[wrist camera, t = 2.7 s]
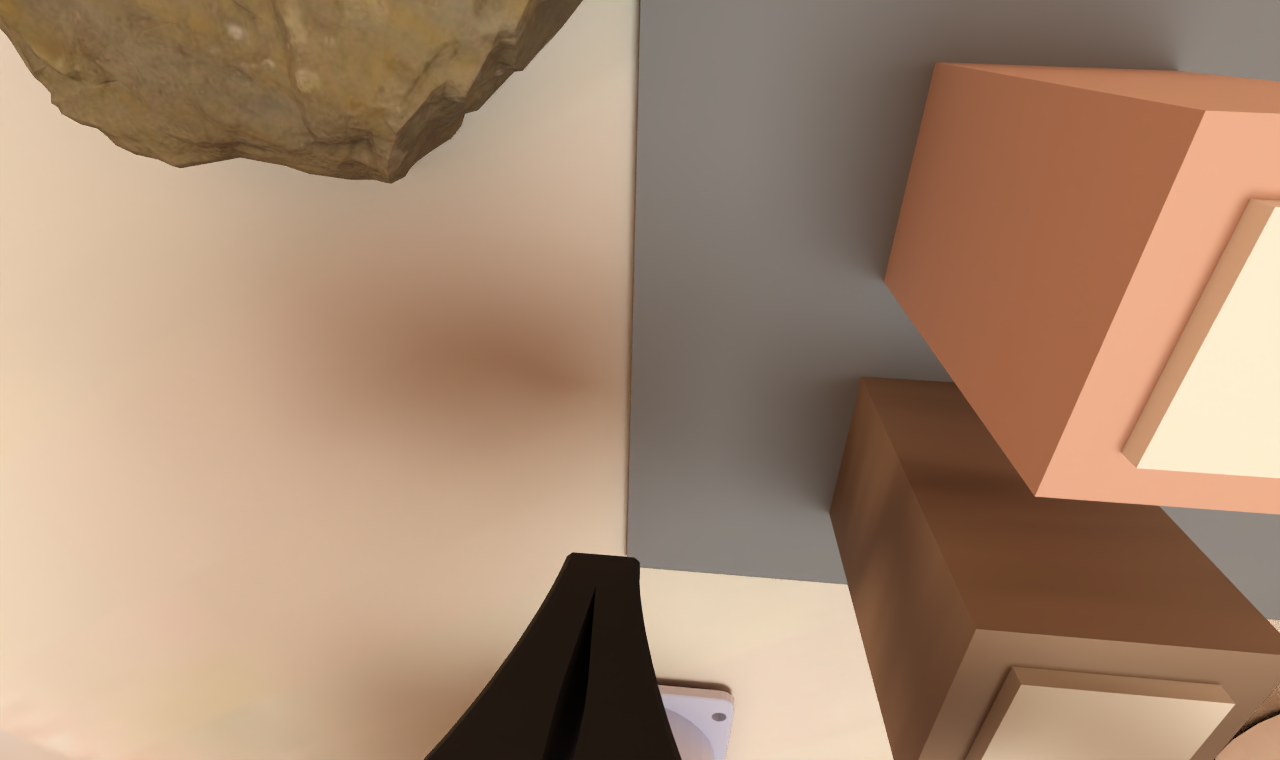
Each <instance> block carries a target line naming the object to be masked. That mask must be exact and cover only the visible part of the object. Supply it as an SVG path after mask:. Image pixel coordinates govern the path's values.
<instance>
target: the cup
mask: <svg viewBox="0 0 1280 760" xmlns="http://www.w3.org/2000/svg"><path fill="white" fill-rule="evenodd" d="M1215 760H1280V715H1277V716H1275V717H1273V718H1270V719H1268V720H1265V721H1263V722H1261V723H1258V724H1257V725H1255V726H1254V727H1252V728H1251V729H1249V730H1247V731H1246V732H1244V733H1243V734H1241V735H1239V736H1238V737H1236V738H1235V739H1233V740H1232V741H1231V742H1230V743H1229V744H1228V745H1227V746H1226V747H1225V748H1224V749H1223V750H1222V751H1221V752H1220V753H1219V754H1218V755H1217V757H1216V759H1215Z"/></svg>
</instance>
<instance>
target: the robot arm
mask: <svg viewBox="0 0 1280 760" xmlns="http://www.w3.org/2000/svg"><path fill="white" fill-rule="evenodd" d="M639 579H640V562H639V561H638V560H637V559H636V558H634V557H622V556H610V555H598V554H585V553H571V554H570V555H568V556H567V558H566V560H565V562H564V564H563V566H562V569H561V570H560V572H559V574H558V576H557V578H556V580H555V582H554V584H553V586H552V588H551V589H550V591H549V593H548V595H547V596H546V598H545V600H544V601H543V603H542V605H541V607H540V608H539V610H538V612H537V613H536V615H535V616H534V618H533V619H532V621H531V622H530V624H529V626H528V627H527V629H526V630H525V632H524V633H523V635H522V636H521V638H520V639H519V641H518V643H517V644H516V645H515V647H514V648H513V650H512V651H511V653H510V654H509V655H508V657H507V658H506V659H505V661H504V662H503V664H502V665H501V666H500V668H499V669H498V670H497V672H496V673H495V675H494V676H493V677H492V679H491V680H490V681H489V683H488V684H487V685H486V687H485V688H484V689H483V691H482V692H481V693H480V694H479V696H478V697H477V698H476V700H475V701H474V702H473V703H472V705H471V706H470V707H469V708H468V709H467V711H466V712H465V713H464V714H463V715H462V717H461V718H460V719H459V720H458V721H457V723H456V724H455V725H454V726H453V727H452V729H451V730H450V731H449V732H448V733H447V734H446V735H445V737H444V738H443V739H442V740H441V741H440V742H439V743H438V744H437V745H436V746H435V748H434V749H433V750H432V751H431V752H430V753H429V754H428V755H427V756H426V757H425V759H424V760H726V754H727V749H728V743H729V737H730V731H731V725H732V719H733V713H734V698H733V697H732V695H731V694H729V693H727V692H725V691H719V690H708V689H697V688H686V687H676V686H665V685H658V683H657V680H656V676H655V672H654V668H653V664H652V659H651V655H650V650H649V646H648V641H647V636H646V632H645V626H644V620H643V613H642V606H641V598H640V585H639Z"/></svg>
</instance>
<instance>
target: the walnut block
mask: <svg viewBox="0 0 1280 760" xmlns="http://www.w3.org/2000/svg"><path fill="white" fill-rule="evenodd" d="M829 515H830V519H831V522H832V526H833V530H834V534H835V538H836V541H837V545H838V549H839V553H840V557H841V560H842V564H843V568H844V572H845V576H846V579H847V583H848V587H849V591H850V595H851V599H852V602H853V606H854V610H855V614H856V618H857V621H858V625H859V629H860V633H861V637H862V640H863V644H864V648H865V652H866V656H867V659H868V663H869V667H870V671H871V675H872V678H873V682H874V686H875V690H876V694H877V697H878V701H879V705H880V709H881V713H882V717H883V720H884V724H885V728H886V732H887V736H888V739H889V743H890V747H891V751H892V755H893V758H894V760H1214V759H1215V758H1216V756H1217V755H1218V754H1219V753H1220V752H1221V751H1222V749H1223V748H1224V747H1225V746H1226V745H1227V744H1228V742H1229V741H1230V740H1231V739H1232V738H1233V737H1234V735H1235V734H1236V733H1237V732H1238V731H1239V730H1240V728H1241V727H1242V726H1243V725H1244V724H1245V723H1246V721H1247V720H1248V719H1249V718H1250V717H1251V716H1252V715H1253V713H1254V712H1255V711H1256V710H1257V709H1258V708H1259V706H1260V705H1261V704H1262V703H1263V702H1264V701H1265V699H1266V698H1267V697H1268V696H1269V695H1270V694H1271V692H1272V691H1273V690H1274V689H1275V688H1276V687H1277V685H1278V684H1279V683H1280V633H1279V632H1278V631H1277V630H1276V629H1275V628H1274V627H1273V626H1272V625H1271V624H1270V622H1269V621H1268V620H1267V619H1266V618H1265V617H1264V616H1263V615H1262V614H1261V613H1260V612H1259V611H1258V610H1257V609H1256V608H1255V607H1254V606H1253V605H1252V603H1251V602H1250V601H1249V600H1248V599H1247V598H1246V597H1245V596H1244V595H1243V594H1242V593H1241V592H1240V591H1239V590H1238V589H1237V588H1236V587H1235V585H1234V584H1233V583H1232V582H1231V581H1230V580H1229V579H1228V578H1227V577H1226V576H1225V575H1224V574H1223V573H1222V572H1221V571H1220V570H1219V569H1218V568H1217V566H1216V565H1215V564H1214V563H1213V562H1212V561H1211V560H1210V559H1209V558H1208V557H1207V556H1206V555H1205V554H1204V553H1203V552H1202V551H1201V550H1200V548H1199V547H1198V546H1197V545H1196V544H1195V543H1194V542H1193V541H1192V540H1191V539H1190V538H1189V537H1188V536H1187V535H1186V534H1185V533H1184V532H1183V530H1182V529H1181V528H1180V527H1179V526H1178V525H1177V524H1176V523H1175V522H1174V521H1173V520H1172V519H1171V518H1170V517H1169V516H1168V515H1167V514H1166V513H1165V511H1164V510H1163V509H1162V508H1161V507H1160V506H1157V505H1143V504H1129V503H1116V502H1102V501H1088V500H1075V499H1061V498H1048V497H1035V496H1034V495H1033V493H1032V492H1031V490H1030V489H1029V488H1028V486H1027V485H1026V483H1025V482H1024V480H1023V479H1022V478H1021V476H1020V475H1019V473H1018V472H1017V470H1016V469H1015V468H1014V466H1013V465H1012V463H1011V462H1010V461H1009V459H1008V458H1007V456H1006V455H1005V453H1004V452H1003V451H1002V449H1001V448H1000V446H999V445H998V443H997V442H996V441H995V439H994V438H993V436H992V435H991V434H990V432H989V431H988V429H987V428H986V426H985V425H984V424H983V422H982V421H981V419H980V418H979V416H978V415H977V414H976V412H975V411H974V409H973V408H972V407H971V405H970V404H969V402H968V401H967V399H966V398H965V397H964V395H963V394H962V392H961V391H960V389H959V388H958V387H957V385H956V384H955V382H940V381H925V380H909V379H893V378H878V377H862V376H861V381H860V385H859V389H858V393H857V398H856V402H855V406H854V410H853V415H852V419H851V423H850V427H849V432H848V436H847V440H846V444H845V449H844V453H843V457H842V461H841V466H840V470H839V474H838V478H837V483H836V487H835V491H834V495H833V500H832V504H831V508H830V512H829Z"/></svg>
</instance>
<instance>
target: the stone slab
mask: <svg viewBox="0 0 1280 760" xmlns="http://www.w3.org/2000/svg"><path fill="white" fill-rule="evenodd" d="M581 2H582V0H0V29H1V30H2V31H3V32H4V33H5V34H6V35H7V36H8V37H9V39H10V40H11V42H12V44H13V45H14V47H15V48H16V50H17V52H18V53H19V55H20V56H21V58H22V60H23V61H24V63H25V64H26V66H27V68H28V69H29V70H30V72H31V73H32V74H33V76H34V77H35V78H36V79H37V80H38V81H40V82H41V83H42V84H43V85H44V86H45V87H46V88H47V89H48V91H49V92H50V93H51V103H52V104H54V105H55V106H57V107H58V108H59V110H60V112H61V113H62V114H63V115H65V116H67V117H69V118H71V119H72V120H74V121H76V122H78V123H80V124H82V125H86V126H90V127H94V128H98V129H99V130H100V131H101V132H103V133H104V134H105V135H106V136H108V137H109V139H110V140H111V141H112V142H113V143H114V144H115V145H117V146H119V147H121V148H123V149H125V150H127V151H130V152H132V153H134V154H136V155H141V156H145V157H150V158H154V159H159V160H161V161H163V162H165V163H167V164H169V165H172V166H175V167H179V168H184V167H189V166H195V165H201V164H206V163H212V162H217V161H223V160H229V159H234V158H240V157H241V158H247V159H252V160H257V161H262V162H268V163H274V164H279V165H285V166H288V167H291V168H294V169H297V170H300V171H303V172H306V173H309V174H315V175H322V176H330V177H337V178H344V179H351V180H377V181H381V182H386V183H390V184H391V183H393V182H395V181H397V180H399V179H401V178H403V177H405V176H406V174H407V173H408V171H409V169H410V168H411V167H412V166H413V165H414V164H415V163H416V162H417V161H418V160H419V159H421V158H422V157H423V156H425V155H426V154H428V153H429V152H430V151H432V150H433V149H435V148H436V147H438V146H440V145H441V144H443V143H444V142H446V141H447V140H449V139H451V138H452V137H453V135H454V134H455V133H456V131H457V130H458V129H459V127H460V126H461V124H462V121H463V117H464V114H465V113H468V112H472V111H476V110H478V109H479V108H480V107H481V106H482V105H483V104H484V103H485V102H486V101H487V100H488V99H489V97H490V96H491V95H492V94H493V93H494V92H495V91H496V90H497V89H498V88H499V87H500V86H501V85H502V84H503V83H504V82H505V81H506V80H507V78H508V77H509V76H510V75H511V74H512V73H513V72H514V71H523V70H524V68H525V67H526V66H527V65H528V64H529V63H530V61H531V60H532V59H533V58H534V57H535V56H536V54H537V53H538V52H539V51H540V50H541V49H542V48H543V47H544V46H545V45H546V44H547V43H548V42H549V41H550V40H551V39H552V38H553V37H554V35H555V34H556V33H557V32H558V31H559V30H560V29H561V27H562V26H563V25H564V24H565V22H566V21H567V20H568V18H569V17H570V16H571V15H572V13H573V12H574V11H575V9H576V8H577V7H578V6H579V4H580V3H581Z"/></svg>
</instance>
